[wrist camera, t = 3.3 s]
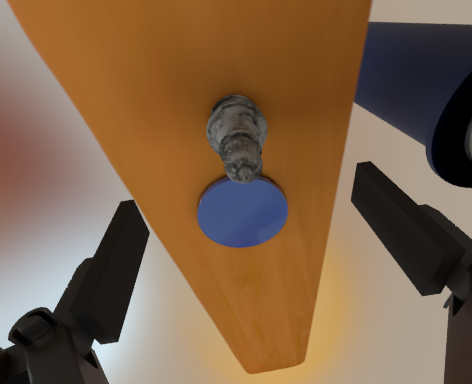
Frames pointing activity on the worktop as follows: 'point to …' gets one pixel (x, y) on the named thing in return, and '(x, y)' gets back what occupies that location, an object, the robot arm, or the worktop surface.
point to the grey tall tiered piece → (238, 137)
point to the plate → (242, 212)
